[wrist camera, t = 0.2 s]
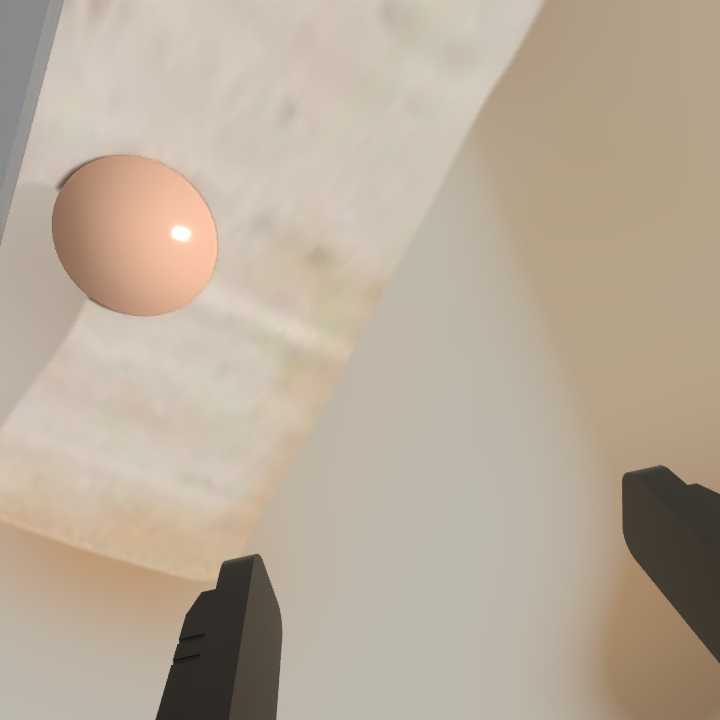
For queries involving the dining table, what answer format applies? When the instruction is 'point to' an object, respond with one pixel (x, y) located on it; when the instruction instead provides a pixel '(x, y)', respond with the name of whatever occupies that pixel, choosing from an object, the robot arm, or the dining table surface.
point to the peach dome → (134, 235)
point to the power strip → (21, 81)
